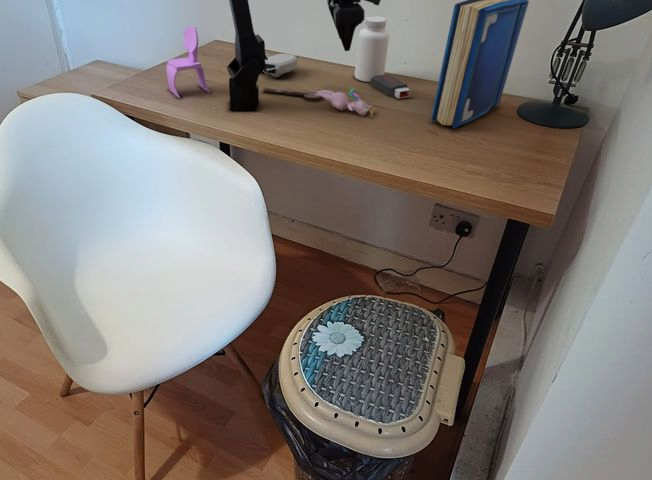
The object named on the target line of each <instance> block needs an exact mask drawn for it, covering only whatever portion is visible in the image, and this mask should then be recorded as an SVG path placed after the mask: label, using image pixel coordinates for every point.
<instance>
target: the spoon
mask: <svg viewBox="0 0 652 480" xmlns="http://www.w3.org/2000/svg"><path fill="white" fill-rule="evenodd" d="M262 92H263V93H267V94H274V95H275V94H276V95H283V96H291V97H299V98H303V100H305V101H308V102H318V101H321V100H322V96H319V95H317V96H315V95H314V94H317V92H318V91H306V92H301V91H295V90H294V91H293V90H286V89H280V88H279V89H278V88H277V89H276V88H270V87H264V88H263V89H262Z"/></svg>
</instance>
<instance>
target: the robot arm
mask: <svg viewBox="0 0 652 480" xmlns="http://www.w3.org/2000/svg"><path fill="white" fill-rule="evenodd" d="M364 1H365V2H367V3H372V4H373V5H374V6H379V5H380V4H381V0H364ZM228 2H229V8H230V12H231V16H232V21H233V26H234V30H235V35H234V50H235V51H234V53H235V54H234V55H235V56H234V58H233V59H232V60H231V61H230V62H229V63H228V65H226V69H227V72H228V74H229V76H230V77H229V79H228V92H229V93H228V94H229V109H228V110H229V111H231V112H237V111H238V112H239V111H240V112H242V111H244V112H245V111H247V112H249V111H252V112H253V111H258V107H259V105H260V93H259V92H260V89H259V88H260V87H259V84H258V80H259V76H260V75H262V74H263V70H264V69H265V66H266V63H265V60H268V58H267V56H266V54H267V53H266V43H265V40H264V39H263V38H262V36H261V35H260V34H259V33H258V34H255V33H256V32H255V30H254V24H253V21H252V20H253V19H252V15H251V14H252V13H251V9H250V4H249V0H228ZM361 2H362V0H326V4H327V9H328V10H329V14H330V16H331V18H332V21H333V24H334V27H335V29H336V32H337V35H338V38H339V39H340V41H341V45H342V47H343V51H345V52H350V50H351V47H352V42H353V38H354V35H355V31H356V28H357V27H358V26H359V25H361V24H362V23H363V22H364V21H365V9H364V8H363V7H362V5H361V4H360V3H361Z"/></svg>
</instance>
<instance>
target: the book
mask: <svg viewBox="0 0 652 480" xmlns="http://www.w3.org/2000/svg"><path fill="white" fill-rule="evenodd" d="M528 6H529V0H464V1H460V2H457V3H455V4H454V6H453V11H452V16H451V19H450V25H449V30H448V35H447V39H446V43H445V49H444V54H443V59H442V62H441V63H442V64H441V69H440V73H439V78H438V81H437V87H436V93H435V97H434V102H433V107H432V112H431V116H430V119H431V121H432V122H435V121H437V122H438V123H439V124H441V125H442V126H451V127H452V129H456V128H459V127H462V126H463V125H466V124H469V123H470V122H473V121H475V120H477V119H479V118H480V117H483V116H484V115H486V114H488V113H489V112H490V111H491V110H492V109H495V108H496V107H498V106H499V105H500V104H501V100H502V96H503V92H504V90H505V87H506V86H505V85H506V83H507V79H508V77H509V72H510V69H511V65H512V62H513V58H514V55H515V51H516V47H517V44H518V40H519V38H520V34H521V31H522V27H523V23H524V20H525V16H526V14H527V9H528Z"/></svg>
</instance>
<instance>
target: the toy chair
mask: <svg viewBox="0 0 652 480" xmlns="http://www.w3.org/2000/svg"><path fill="white" fill-rule="evenodd" d="M183 47H184V48H185V50H186V51H187V52H188V56H186V57H182V58H181V57H180V58H176V59H175V58H173V59H172V58H171V59H167V61H166V63H167V64H166V66H165V67H166V69H165V70H166V77H167V81H168V87H169V90H170V91H171V92H172V94H174V96H175V97H177V98H178V99H180V98H181V96H180V94H179V92H178V89H177V85H176V77H177V74H178V73H179V72H183V71H186V70H192V69H194V70H195V73H196V76H197V82H198V85H199V87H201V88H202V89H203V90H204V91H205V92H206V93H208V94H209V93H210V90H209V88H208V84H207V82H206V77H205V71H204V68H203V67H202V63H201V62H200V61H198V50H199V49H198V48H199V35H198V30H197V28H196V26H188V27H186V28H185V29H184V31H183Z"/></svg>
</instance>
